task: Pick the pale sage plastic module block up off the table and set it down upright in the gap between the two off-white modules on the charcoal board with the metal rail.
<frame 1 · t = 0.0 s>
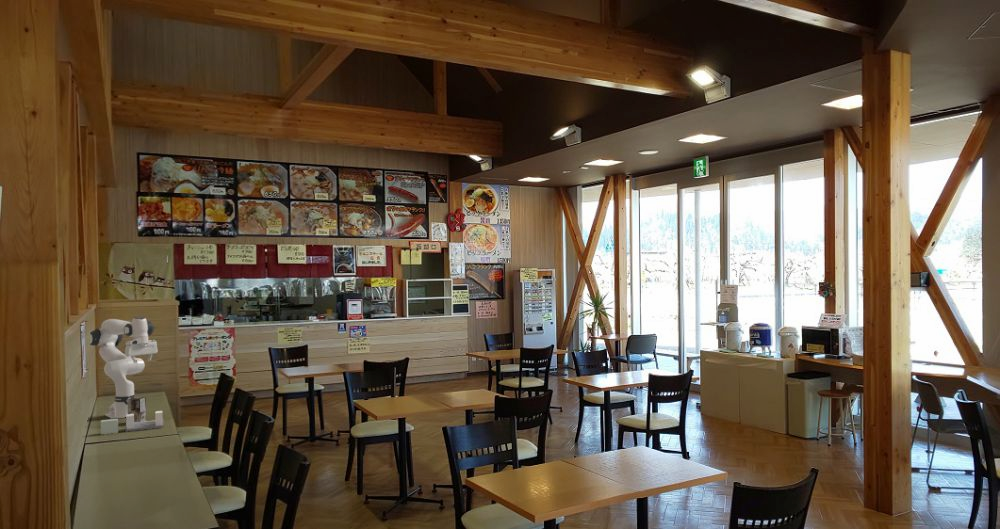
hand: (142, 361, 446), 39 cm above the table, tool pointing down, fingers open, 8 cm apart
module block: (109, 433, 411), on the table
coffee box: (137, 422, 439), on the table
module rack: (144, 428, 422), on the table
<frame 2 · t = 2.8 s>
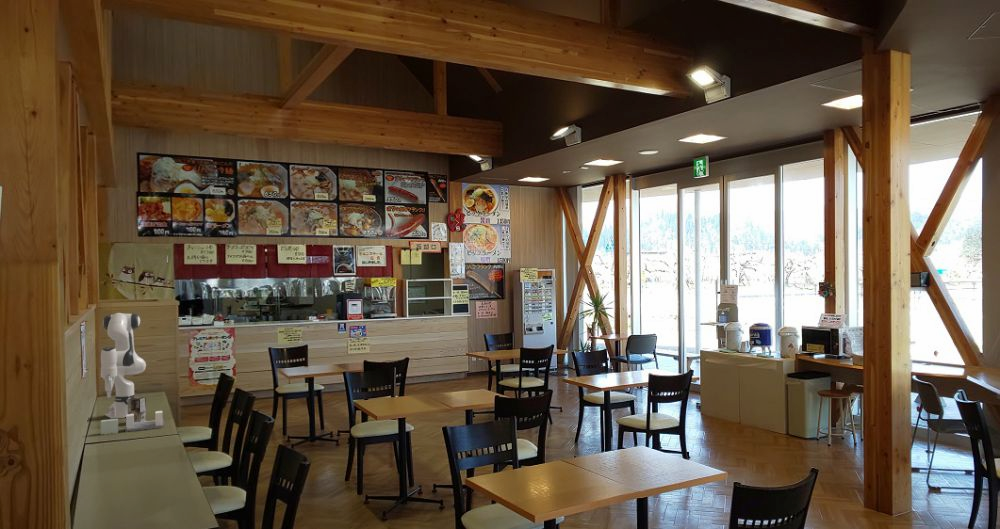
hand: (109, 396, 411), 23 cm above the table, tool pointing down, fingers open, 8 cm apart
nothing on the table moved.
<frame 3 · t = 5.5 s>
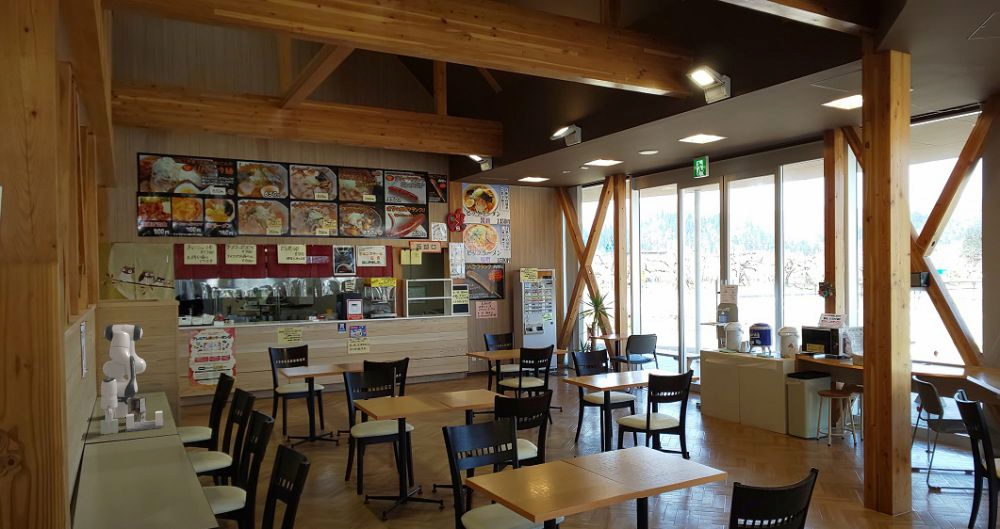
hand: (109, 427, 411), 4 cm above the table, tool pointing down, fingers closed on module block, 4 cm apart
module block: (109, 433, 411), on the table, touching gripper
everything else where it was.
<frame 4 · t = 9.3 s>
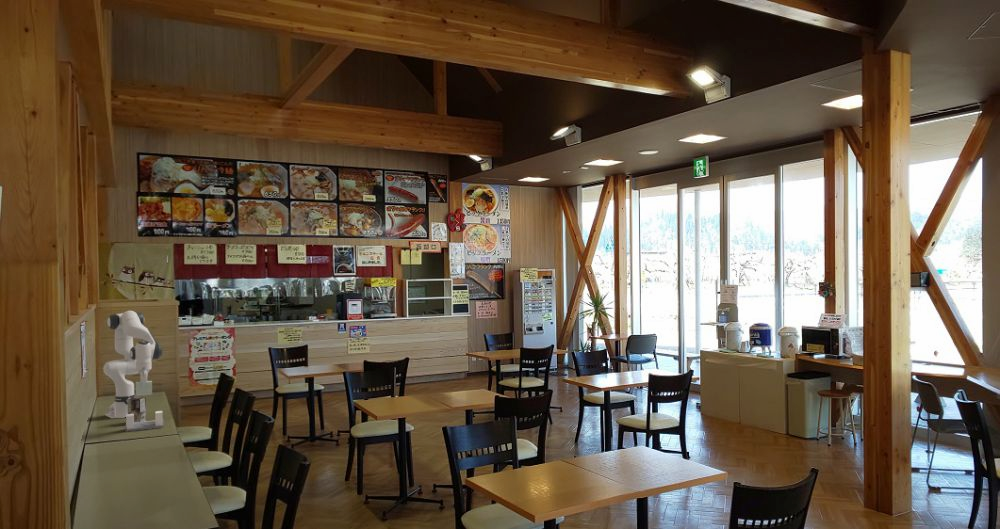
hand: (143, 388, 422), 25 cm above the table, tool pointing down, fingers closed on module block, 4 cm apart
module block: (144, 394, 422), point 21 cm above the table, touching gripper
everything else where it was.
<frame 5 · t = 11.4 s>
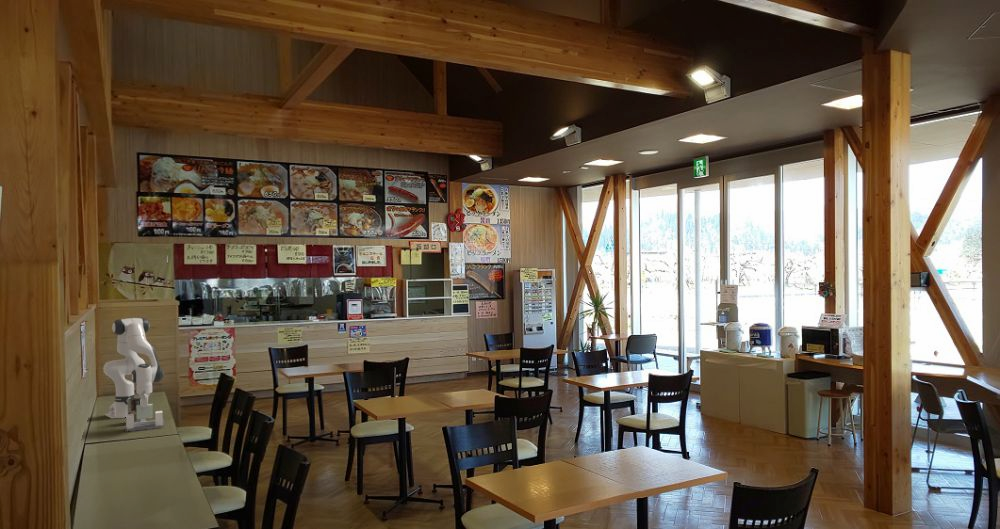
hand: (144, 412, 422), 10 cm above the table, tool pointing down, fingers closed on module block, 4 cm apart
module block: (144, 417, 422), point 7 cm above the table, touching gripper
everything else where it was.
when the fingers open (6 cm above the table, at t = 13.0 s): module block stays where it is, resting on module rack.
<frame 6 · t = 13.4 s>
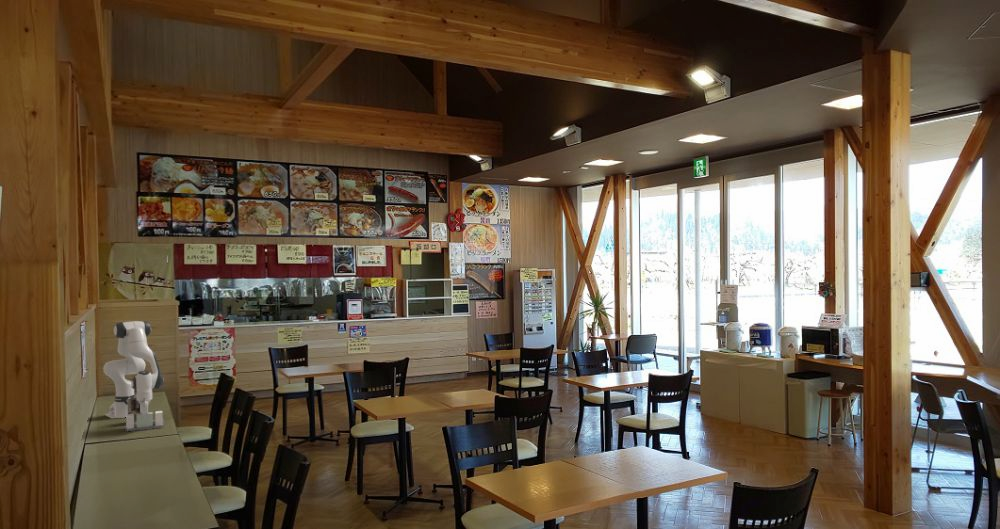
hand: (144, 418, 422), 6 cm above the table, tool pointing down, fingers open, 8 cm apart
module block: (144, 426, 422), point 1 cm above the table, touching module rack
everything else where it was.
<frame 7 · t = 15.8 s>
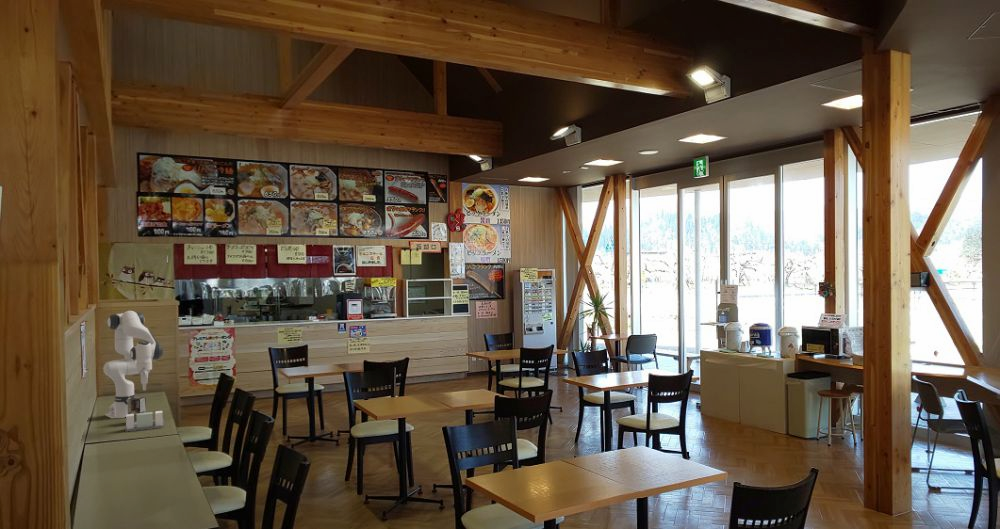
hand: (144, 389, 422), 25 cm above the table, tool pointing down, fingers open, 8 cm apart
nothing on the table moved.
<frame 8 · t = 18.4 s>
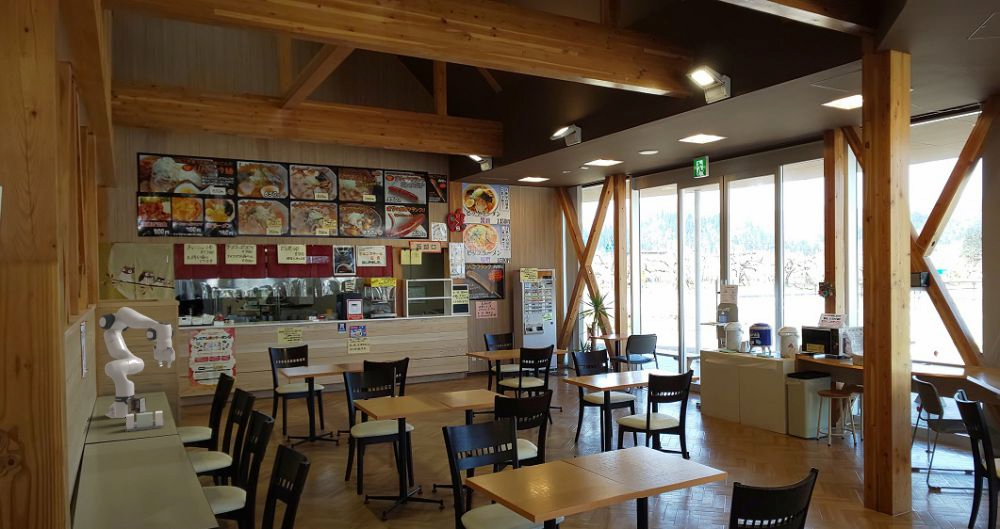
hand: (164, 367, 445), 35 cm above the table, tool pointing down, fingers open, 8 cm apart
nothing on the table moved.
at the end: module block 0.3 cm off-centre on the module rack, point 1.5 cm above the module rack's base; module block tilted 0°; the gripper is holding nothing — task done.
